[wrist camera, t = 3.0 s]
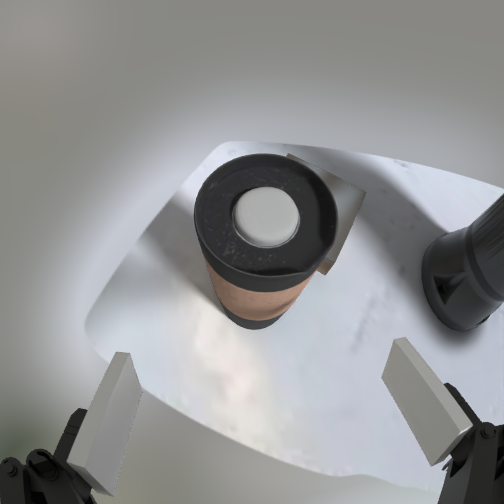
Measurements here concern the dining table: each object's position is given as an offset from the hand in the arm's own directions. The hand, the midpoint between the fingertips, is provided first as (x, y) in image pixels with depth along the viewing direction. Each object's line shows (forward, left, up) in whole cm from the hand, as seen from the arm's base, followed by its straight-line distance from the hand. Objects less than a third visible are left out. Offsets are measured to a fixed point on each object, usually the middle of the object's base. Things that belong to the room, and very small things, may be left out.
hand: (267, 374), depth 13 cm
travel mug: (+4, -8, -18) cm, 20 cm away
